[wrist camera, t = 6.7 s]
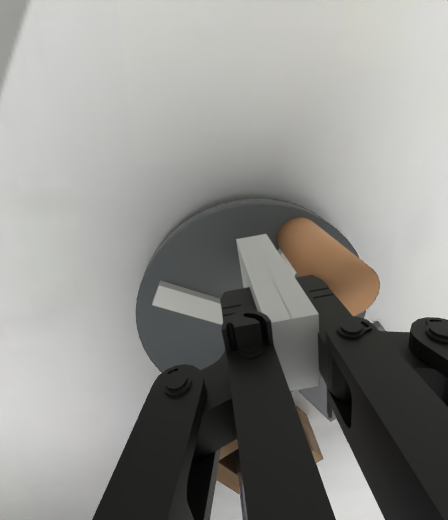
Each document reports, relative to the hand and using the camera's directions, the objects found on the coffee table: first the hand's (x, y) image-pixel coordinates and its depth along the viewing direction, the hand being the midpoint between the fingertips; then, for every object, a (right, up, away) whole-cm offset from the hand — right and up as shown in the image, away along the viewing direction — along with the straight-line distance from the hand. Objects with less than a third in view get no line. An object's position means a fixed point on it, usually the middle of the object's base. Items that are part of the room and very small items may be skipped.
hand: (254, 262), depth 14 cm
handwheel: (0, -3, +6) cm, 7 cm away
